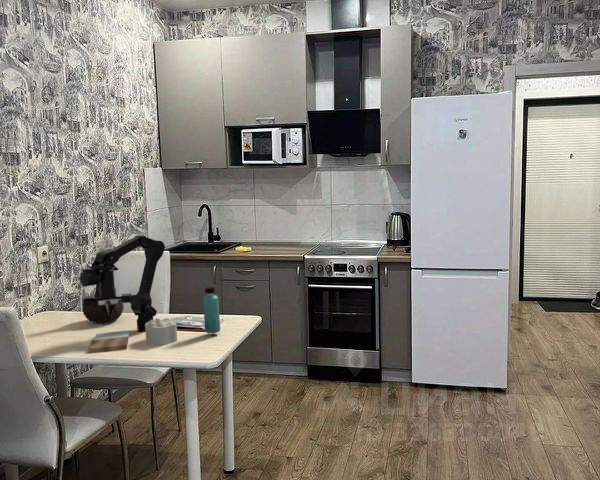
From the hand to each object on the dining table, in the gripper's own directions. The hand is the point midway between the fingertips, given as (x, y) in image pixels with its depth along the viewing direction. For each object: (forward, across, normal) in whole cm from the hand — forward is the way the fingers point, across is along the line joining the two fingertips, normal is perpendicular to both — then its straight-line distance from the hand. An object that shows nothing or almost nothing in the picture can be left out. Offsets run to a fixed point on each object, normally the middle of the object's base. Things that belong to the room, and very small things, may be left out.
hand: (109, 320), depth 236 cm
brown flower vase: (+8, +6, -33) cm, 35 cm away
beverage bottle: (+8, -41, +7) cm, 42 cm away
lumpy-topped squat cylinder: (+8, -20, +8) cm, 23 cm away
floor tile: (+8, 0, -2) cm, 8 cm away
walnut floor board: (+8, 0, +10) cm, 13 cm away
